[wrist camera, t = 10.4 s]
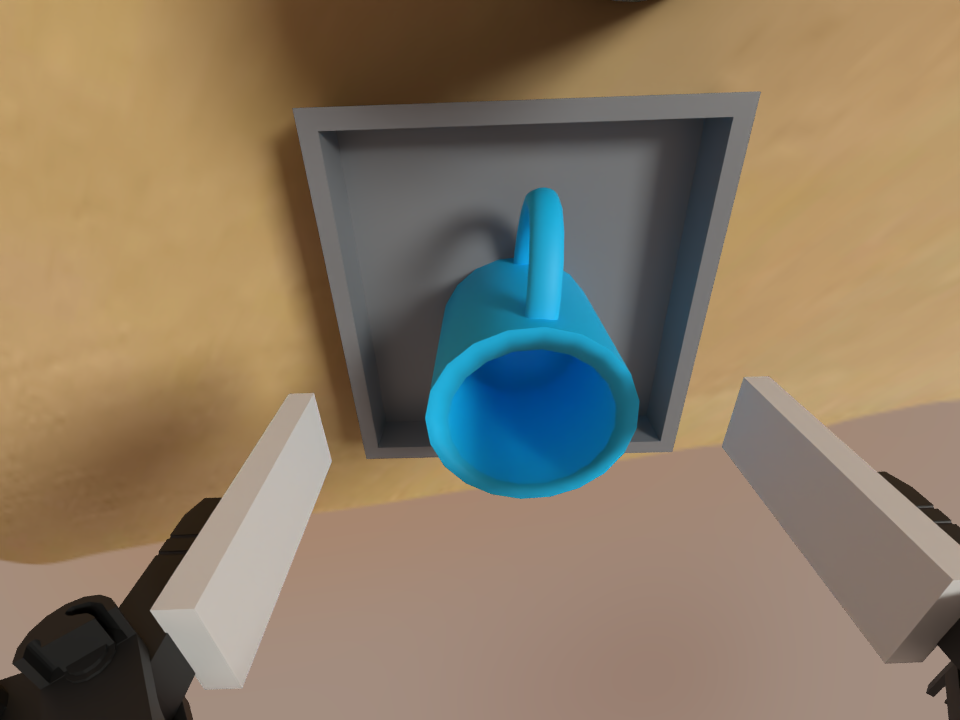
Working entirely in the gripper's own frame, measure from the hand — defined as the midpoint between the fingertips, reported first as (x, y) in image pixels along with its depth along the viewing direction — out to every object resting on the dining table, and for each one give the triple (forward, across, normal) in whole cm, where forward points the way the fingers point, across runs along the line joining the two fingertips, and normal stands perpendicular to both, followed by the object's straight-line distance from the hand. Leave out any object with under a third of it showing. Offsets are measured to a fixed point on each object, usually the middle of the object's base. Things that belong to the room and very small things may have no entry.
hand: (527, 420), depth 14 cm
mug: (+11, +1, 0) cm, 11 cm away
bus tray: (+11, +1, 0) cm, 11 cm away
